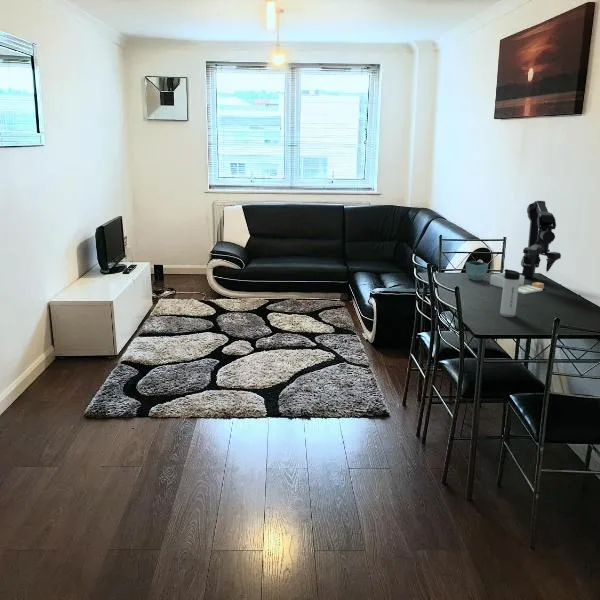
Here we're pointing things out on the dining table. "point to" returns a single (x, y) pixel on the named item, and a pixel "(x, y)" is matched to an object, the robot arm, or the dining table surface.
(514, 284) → the travel mug
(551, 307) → the dining table surface
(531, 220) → the robot arm
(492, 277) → the white open box
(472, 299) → the dining table surface
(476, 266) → the flower pot
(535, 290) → the lid
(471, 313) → the dining table surface
